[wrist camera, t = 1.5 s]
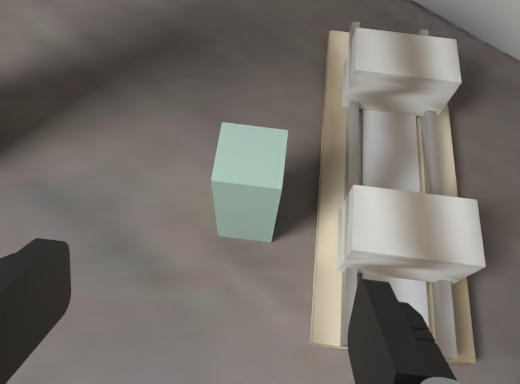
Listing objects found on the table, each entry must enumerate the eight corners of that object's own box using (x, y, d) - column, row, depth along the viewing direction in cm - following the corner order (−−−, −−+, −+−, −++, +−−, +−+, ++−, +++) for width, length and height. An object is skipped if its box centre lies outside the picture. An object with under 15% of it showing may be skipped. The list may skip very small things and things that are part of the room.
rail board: (309, 344, 32) (326, 332, 26) (327, 38, 46) (340, -16, 40) (467, 364, 31) (521, 356, 25) (436, 51, 46) (466, -1, 40)
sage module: (218, 235, 35) (211, 180, 26) (226, 188, 37) (222, 122, 28) (271, 242, 35) (281, 189, 26) (276, 194, 37) (288, 130, 28)
